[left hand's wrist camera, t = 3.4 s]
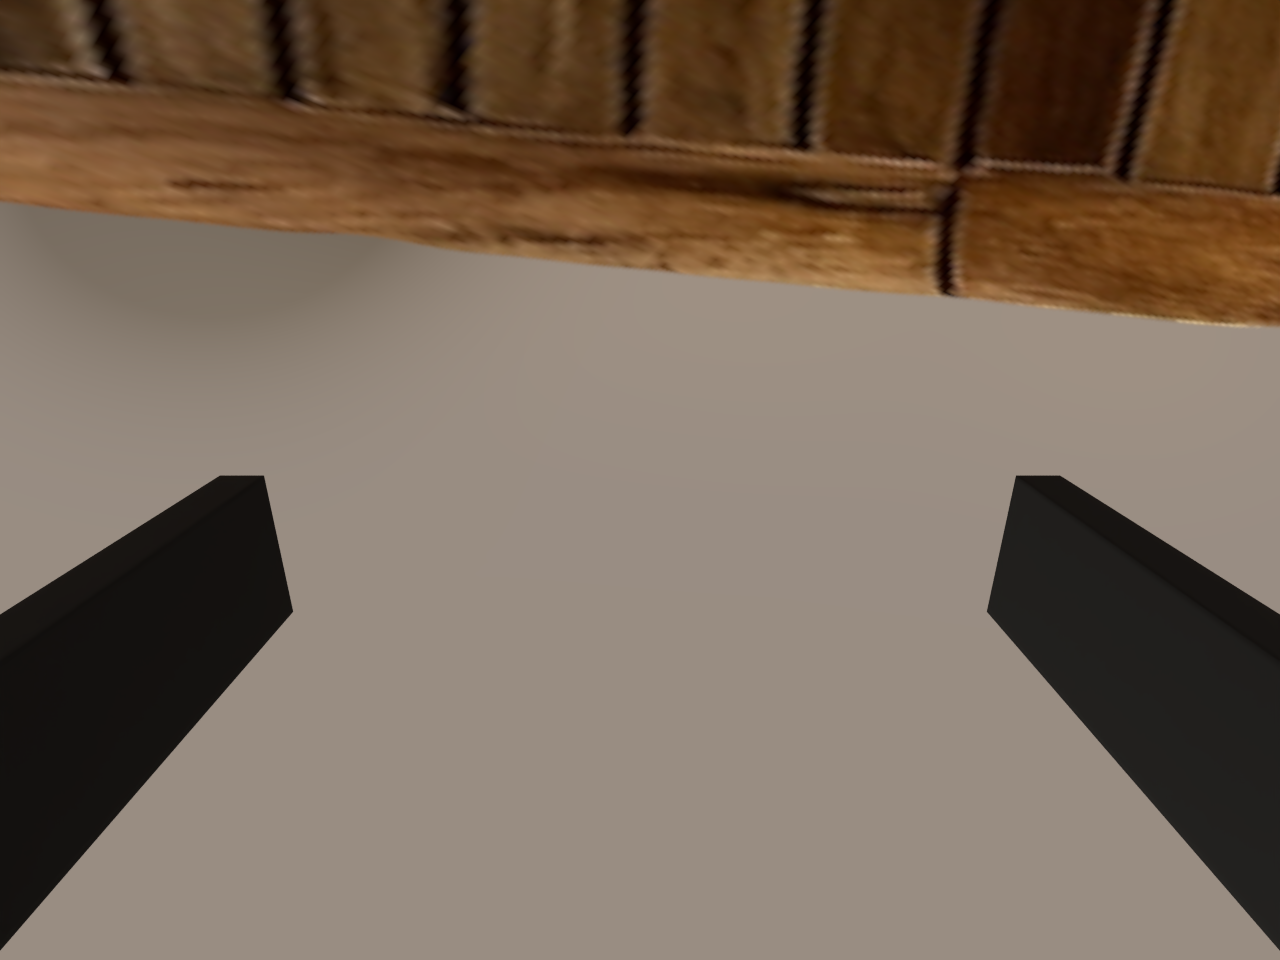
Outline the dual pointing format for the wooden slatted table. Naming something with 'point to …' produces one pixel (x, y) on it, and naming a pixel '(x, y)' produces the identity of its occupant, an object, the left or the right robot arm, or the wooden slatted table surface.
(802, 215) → the wooden slatted table surface
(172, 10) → the wooden slatted table surface
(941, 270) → the wooden slatted table surface
